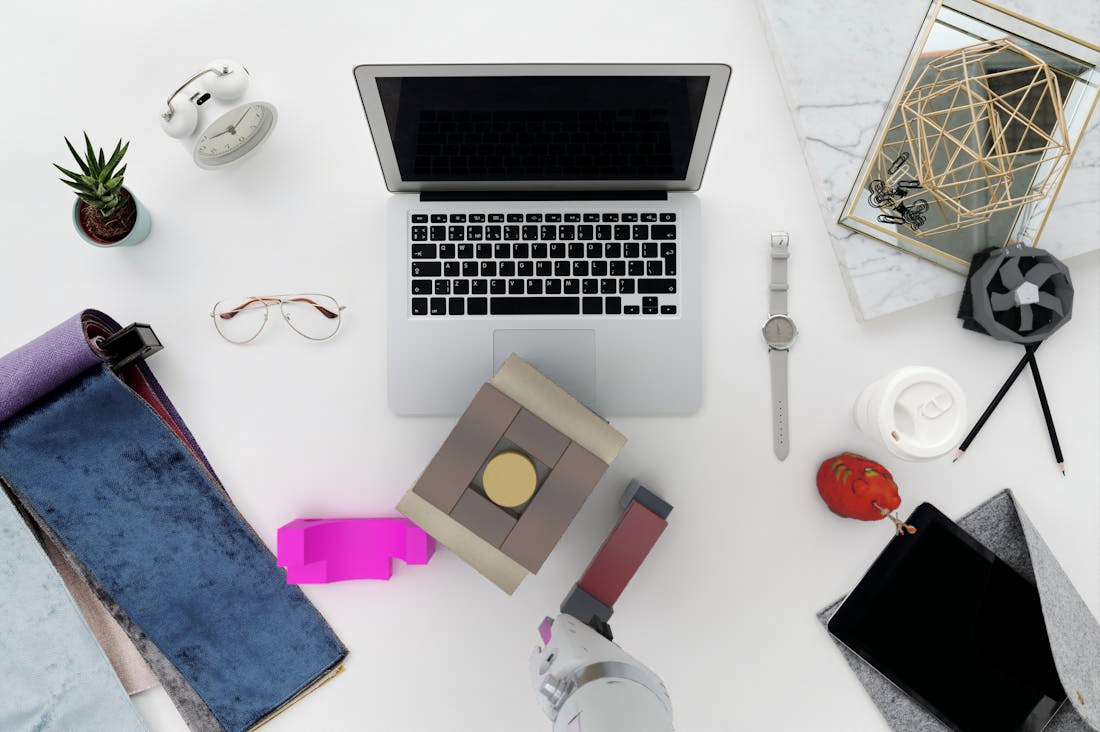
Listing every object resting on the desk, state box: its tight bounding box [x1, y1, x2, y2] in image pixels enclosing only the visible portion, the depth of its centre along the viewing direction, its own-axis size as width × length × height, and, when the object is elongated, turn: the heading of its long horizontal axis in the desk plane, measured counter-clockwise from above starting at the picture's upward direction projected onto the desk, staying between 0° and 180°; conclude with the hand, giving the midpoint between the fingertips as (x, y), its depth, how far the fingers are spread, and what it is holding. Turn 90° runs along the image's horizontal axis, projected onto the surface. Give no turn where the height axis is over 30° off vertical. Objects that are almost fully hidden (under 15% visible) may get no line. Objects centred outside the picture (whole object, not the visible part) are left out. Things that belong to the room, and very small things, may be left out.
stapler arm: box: [559, 499, 669, 624], centre depth 76 cm, size 13×4×3 cm, turn 146°
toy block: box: [276, 516, 436, 585], centre depth 81 cm, size 15×6×8 cm, turn 91°
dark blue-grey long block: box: [618, 477, 674, 521], centre depth 81 cm, size 15×6×8 cm, turn 146°
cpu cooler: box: [956, 241, 1075, 347], centre depth 84 cm, size 10×6×10 cm
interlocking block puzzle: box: [394, 352, 629, 597], centre depth 72 cm, size 16×12×27 cm
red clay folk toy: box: [815, 451, 917, 537], centre depth 78 cm, size 8×7×15 cm
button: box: [483, 450, 537, 507], centre depth 59 cm, size 4×4×3 cm
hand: (591, 634), depth 68 cm, fingers closed
